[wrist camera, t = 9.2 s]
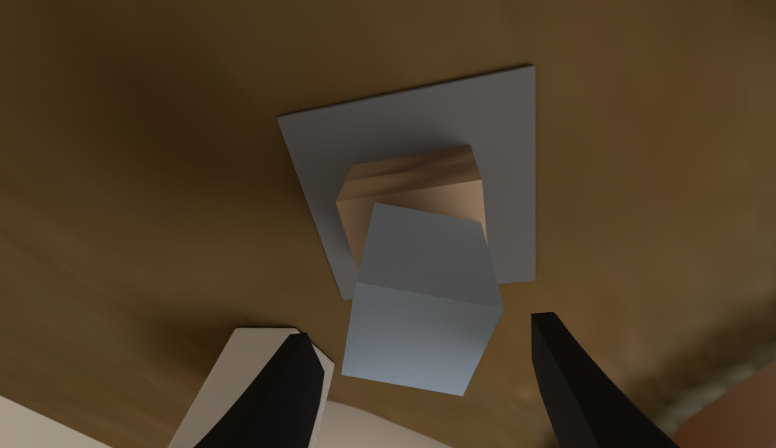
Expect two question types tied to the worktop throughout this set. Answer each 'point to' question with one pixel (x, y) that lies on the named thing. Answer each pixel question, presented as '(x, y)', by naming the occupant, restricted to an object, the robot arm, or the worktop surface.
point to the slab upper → (411, 198)
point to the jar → (239, 381)
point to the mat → (420, 135)
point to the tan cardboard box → (411, 163)
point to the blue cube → (422, 301)
